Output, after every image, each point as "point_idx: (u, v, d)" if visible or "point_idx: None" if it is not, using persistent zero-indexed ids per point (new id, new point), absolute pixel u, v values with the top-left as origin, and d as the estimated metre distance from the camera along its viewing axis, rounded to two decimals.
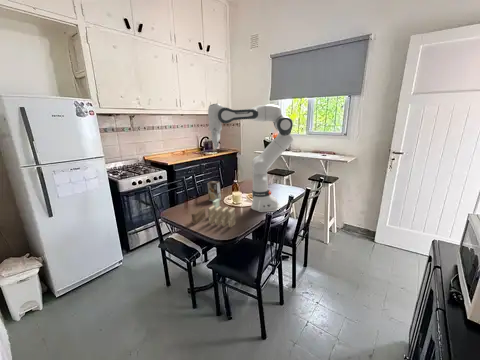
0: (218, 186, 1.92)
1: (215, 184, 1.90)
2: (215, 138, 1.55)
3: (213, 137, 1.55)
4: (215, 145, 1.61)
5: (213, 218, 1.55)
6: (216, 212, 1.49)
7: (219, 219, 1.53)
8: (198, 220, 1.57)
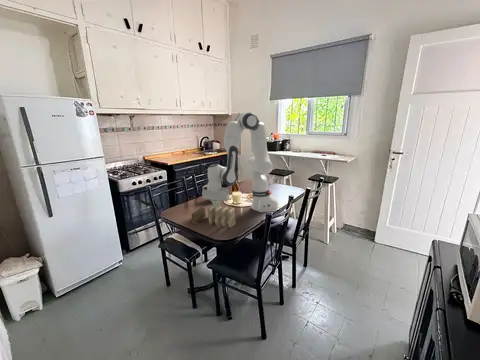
0: None
1: None
2: (228, 196, 1.61)
3: (227, 196, 1.60)
4: (219, 203, 1.65)
5: (213, 218, 1.55)
6: (216, 212, 1.49)
7: (219, 219, 1.53)
8: (198, 220, 1.57)
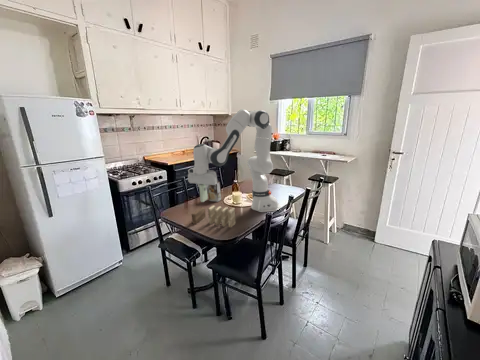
0: (218, 186, 1.92)
1: None
2: (216, 180, 1.47)
3: (215, 179, 1.46)
4: (206, 187, 1.51)
5: (213, 218, 1.55)
6: (216, 212, 1.49)
7: (219, 219, 1.53)
8: (198, 220, 1.57)
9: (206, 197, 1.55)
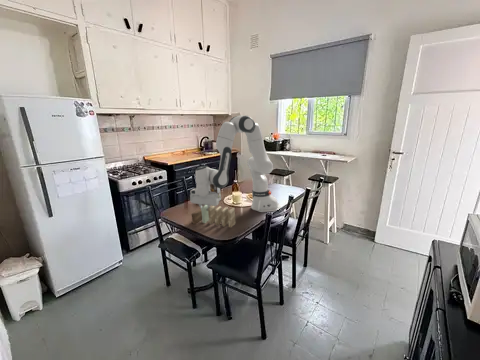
0: None
1: None
2: (218, 201, 1.51)
3: (216, 200, 1.50)
4: (209, 207, 1.54)
5: (213, 218, 1.55)
6: (216, 212, 1.49)
7: (219, 219, 1.53)
8: (198, 220, 1.57)
9: (208, 218, 1.59)
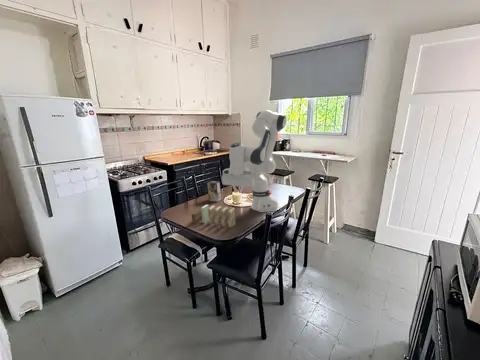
0: (218, 186, 1.92)
1: (215, 184, 1.90)
2: (253, 181, 1.38)
3: (252, 181, 1.36)
4: None
5: (213, 218, 1.55)
6: (216, 212, 1.49)
7: (219, 219, 1.53)
8: (198, 220, 1.57)
9: (208, 218, 1.59)
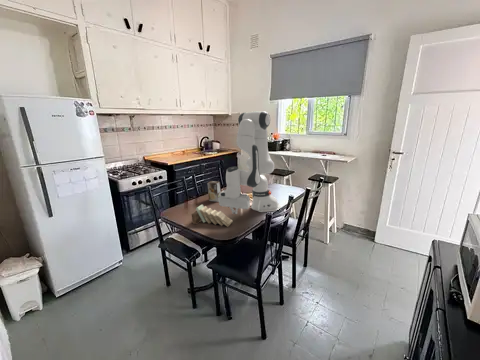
0: (218, 186, 1.92)
1: (215, 184, 1.90)
2: (249, 204, 1.43)
3: (248, 203, 1.41)
4: (237, 210, 1.46)
5: None
6: (206, 213, 1.53)
7: None
8: (198, 220, 1.57)
9: None
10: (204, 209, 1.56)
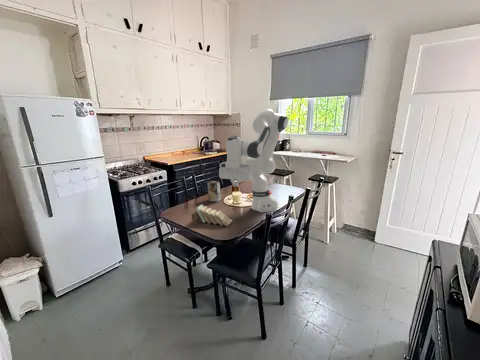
0: (218, 186, 1.92)
1: (215, 184, 1.90)
2: (250, 175, 1.37)
3: (249, 174, 1.36)
4: (238, 182, 1.41)
5: None
6: (206, 213, 1.53)
7: None
8: (198, 220, 1.57)
9: None
10: (204, 209, 1.56)
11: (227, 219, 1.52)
